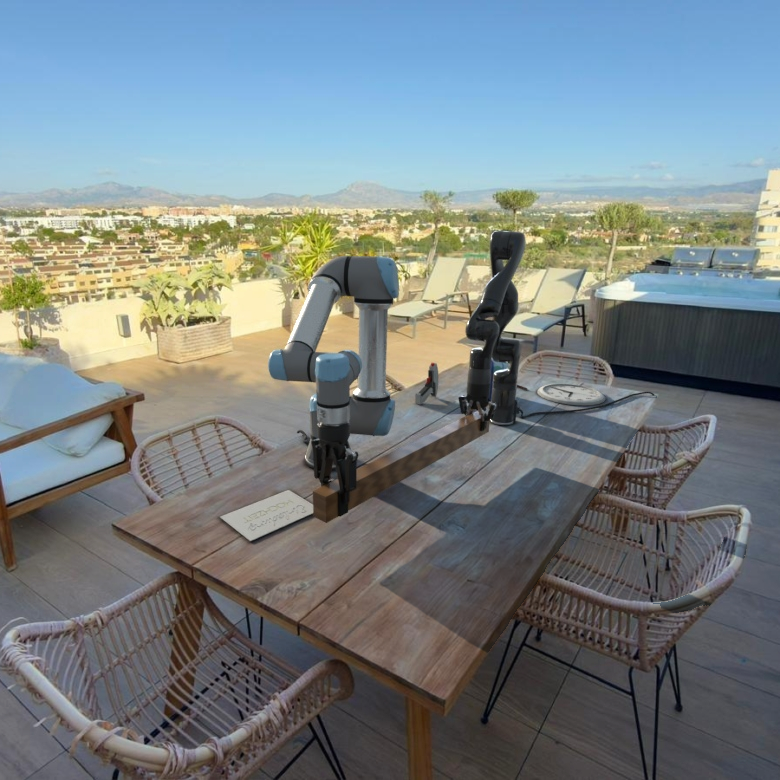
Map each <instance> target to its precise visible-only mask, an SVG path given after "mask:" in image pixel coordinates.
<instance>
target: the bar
mask: <svg viewBox="0 0 780 780" xmlns="http://www.w3.org/2000/svg"><path fill="white" fill-rule="evenodd" d="M488 412H489V411H487V415H488ZM481 421H482V420H481V416H480V415H479V411H477V410H475V411H473V413H472V414H469V415H467V416H465V415H464V417H463V416H462V417H461V418H459V419H457V420H455V421H453V422H451V423H449V424H447V425H445V426H442V427H441V428H438V429H437V430H435V431H432V432H431V433H428V434H426V435H425V436H423V437H420V438H418V439H416V440H414V441H412V442H410V443H408V444H406V445H404V446H402V447H400V448H397V449H395V450H393V451H392V452H389V453H387V454H386V455H383V456H381V457H379V458H377V459H375V460H373V461H371V462H369V463H367V464H365V465H362V466H360V467H358V468H357V477H356V489H355V490H353V491H351V492H350V501H349V503H348V512H349V511H350V510H353V509H354V508H357V507H358V506H359V505H361V504H363V503H365V502H366V501H368V500H370V499H372V498H373V497H376V496H378V495H379V494H381V493H382V492H384V491H387V490H388V489H389V488H392V487H393V486H395V485H397V484H399V483H400V482H402V481H404V480H406V479H407V478H409V477H412V476H413V475H415V474H416V473H418V472H420V471H422V470H424V469H426V468H427V467H430V466H431V465H432V464H434V463H436V462H438V461H439V460H441V459H443V458H445V457H447V456H448V455H451V454H452V453H453V452H456V451H458V450H459V449H461V448H463V447H465V446H466V445H468V444H470V443H472V442H473V441H475V440H477V439H479V438H480V437H482V436H484V435H486V434H487V433H489V432H490V423H491V422H490V420H489V421H487V428H486V429H485V430H484V431H480V423H481ZM331 481H332V482H330V483H328V484H326V485H324V486H322V487H321V486H320V487H318V488H315V489H313V490H312V504H313V514H312V515H313V517H314V518H316V519H318V520H320V521H321V522H323V523H324V524H328V523H329V522H332V521H333V520H335V519H337V518H338V517H339V516H338V491H340V487H339V481H338V478H336V479H334V480H331Z"/></svg>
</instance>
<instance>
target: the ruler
mask: <svg viewBox="0 0 780 780" xmlns="http://www.w3.org/2000/svg"><path fill="white" fill-rule="evenodd" d="M517 388H519V389H522V390H525V391H528V388H527V387H525V386H523V385H519V384H517Z"/></svg>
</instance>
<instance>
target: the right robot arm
mask: <svg viewBox="0 0 780 780" xmlns="http://www.w3.org/2000/svg"><path fill="white" fill-rule="evenodd" d="M526 240H527V239H526V235H525V233H523V232H520V231H511V230H510V231H509V230H495V231H493V232H492V234H491V236H490V239H489V259H490V261H489V262H490V270H491V279H490V280H489V281H488V282H487V284H486V285H485V286H484V288H483V291H482V294H481V297H480V299H479V303H478V305H477V307H476V309H475V310H474V312H473V313H472V314H471V317H469V319H468V320H467V323H466V325H465V330H464V333H465V336H466V338H467V339H468V340H470V341H475V342H483V343H484V345H483V346H480V347H474V348H472V349H471V350H469V351H470V352H469V358H468V359H469V360H468V361H469V362H468V370H467V381H466V395H464V394H463V395H460V396H458V398H457V399H458V404H459V408H460V409H459V411H460V413H461V415H464V417H465V416H467V415H469V414H472V413H474V412H475V411H479V415H480V416H481V420H482V421H481V423H480V431H484V430H485V429H486V428H487V421H489V420H490V422H489V423H491V424H494V425H497V426H511V425H513V424H516V423H517V414H518V415H519V414H520V418H521V419H526V418H528V417H532V416H535V415H547V414H563V413H574V412H583V411H589V410H595V409H600V408H602V407H606V406H609V405H612V404H615V403H617V402H620V401H623V400H626V399H628V398H631V397H633V396H638V395H639V396H640V395H643V394H649V395H651V396H654V395H655V393H653V392H651V391H642V392H636V393H631V394H629V395H626V396H624V397H621V398H618V399H616V400H614V401H610V402H607V403H604V404H599V405H595V406H592V407H586V408H585V407H584V408H578V409H568V410H555V411H553V410H552V411H537V412H532V413H530V414H527V415H525V416H524V411H523V409H521V408H520V406H518V399H517V388H518V387H517V385H518V377H519V366H520V360H521V353H522V343H521V341H520V340H519V339H515V338H504V337H502V335H503V332H504V331H505V329H506V328H507V326H508V325H509V323H511V321H512V320H513V319H514V318H515V316H516V315H517V313H518V310H519V292H518V289H517V286H516V285H515V283H514V282H513V278H514V276H515V274H516V272H517V269H518V267H519V265H520V263H521V261H522V259H523V256H524V254H525V250H526V243H527V242H526ZM504 261H507V262H506V264H504ZM489 318H491V319H489ZM491 360H493V361H495V362H501V363H508V364H509V365H508V366H509V367H507V368H505V369H501V370H497V371H495V372H494V374H493V385H492V398H491V402H490V399H489V395H490V385H491ZM654 397H655V396H654ZM487 412H488V415H487Z"/></svg>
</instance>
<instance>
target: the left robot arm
mask: <svg viewBox="0 0 780 780" xmlns="http://www.w3.org/2000/svg"><path fill="white" fill-rule="evenodd" d="M307 289H308V295H307V297H306V299H305V302H304V303H303V306H302V308H301V310H300V313H299V315H298V317H297V319H296V322H295V324H294V326H293V329H292V332H291V333H290V336H289V338H288V341H287V343H286V344H285V346H284V349H283V348H279V349H274V350H273V351H271V352H270V355H269V357H268V363H267V366H268V367H267V369H268V373H269V375H270V377H271V378H272V379H274V380H278V381H284V382H299V383H300V382H301V383H314V384H315V387H316V388H315V391H316V392H315V393H314V394H313V395H311V396H310V399H309V407H308V412H309V435H310V437H309V438H310V440H309V441H308V435H307V434H306V432H305V431H304V430H303V429H298V430H297V431H296V434H302V436H303V437H304V438H303V439H302V442H303V443H304V444H306V445H307V448H306V449H307V450H306V453H305V456H304V458H305V465H307V467H309V468H311V469H313V476H314V478H315V479H316V480H319V481H318V482H319V483H320V487H322V486H324V485H326V484H328V483H330V482H332V481H333V480H332V479H333V477H331V475H332V471H336V476H337V479H338V481H339V487H340V491H338V517H340V518H341V517H342V516H344V515H346V514H347V513H349V511H348V503H349V501H350V492H351V491H353V490H355V489H356V477H357V469H358V467H357V464H358V463H357V461H358V458H359V452H358V451H353V450H352V448H351V446H350V445H351V444H350V443H349V438H350V436H351V435H361V436H371V437H384V436H387V435H388V434H389V433H390V431H391V429H392V425H393V421H394V417H395V410H396V400H395V399H393V398H391V391H389V390H388V388H387V387H386V386H387V383H386V382H387V355H388V354H387V353H388V352H387V351H388V350H387V349H388V314H389V313H388V312H389V309H390V308H391V307H392V306H393V305H394V300H395V299H397V298H399V296H400V280H399V271H398V267H397V264H396V262H395V260H394V259H393V258H391V257H387V256H386V257H385V256H380V255H378V256H365V255H364V256H363V255H361V256H358V255H357V256H355V255H341V256H337V257H335V258H332V259H330V260H328V261H327V262H326V263H324V264H323V265H322V266H320V267H319V268H318V269H317V271H315V272H314V274H313V275H312V277H311V279H310V280H309V282H308V286H307ZM341 297H353V304H354V305H355V306H356V307H357V308H358V344H357V345H358V346H357V347H358V348H357V349H358V350H357V351H358V353H357V352H356V351H353V350H351V349H343V350H340V351H338V352H326V351H325V352H321V351H317V349H318V346H319V343H320V341H321V338H322V336H323V333H324V331H325V328H326V325H327V323H328V320H329V318H330V315H331V313H332V310H333V307H334V305H335V304H336V303H337V302H338V301H339V300H340V299H341ZM356 380H357V387H356V389H354V390H353V391H352V396H350V395H351V394H350V391H351V390H350V389H351V386H352V384H353V383H354V382H355V381H356Z"/></svg>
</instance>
